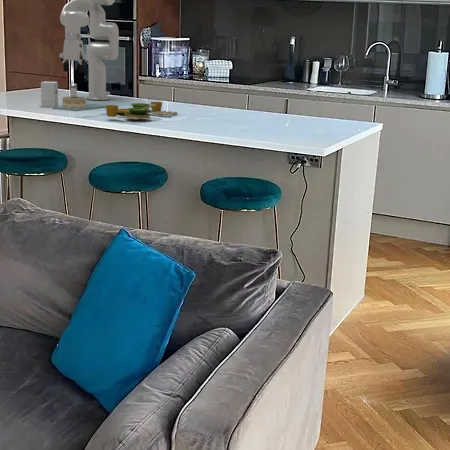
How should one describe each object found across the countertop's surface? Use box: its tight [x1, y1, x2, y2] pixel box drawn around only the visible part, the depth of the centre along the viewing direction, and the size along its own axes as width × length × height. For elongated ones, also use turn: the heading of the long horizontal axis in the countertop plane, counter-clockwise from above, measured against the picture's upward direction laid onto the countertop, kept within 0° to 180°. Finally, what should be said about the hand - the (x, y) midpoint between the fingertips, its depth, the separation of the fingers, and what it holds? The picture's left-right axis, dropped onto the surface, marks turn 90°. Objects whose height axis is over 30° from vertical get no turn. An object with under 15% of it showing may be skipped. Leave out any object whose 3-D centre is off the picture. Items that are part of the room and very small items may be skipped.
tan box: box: [62, 96, 87, 109], centre depth 375 cm, size 11×11×5 cm
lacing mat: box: [51, 102, 107, 112], centre depth 382 cm, size 30×15×1 cm, turn 153°
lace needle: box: [69, 83, 78, 98], centre depth 374 cm, size 3×3×12 cm
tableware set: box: [105, 101, 178, 120], centre depth 365 cm, size 41×28×6 cm
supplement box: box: [40, 81, 59, 108], centre depth 380 cm, size 7×7×13 cm
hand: (73, 72), depth 372 cm, fingers open, 9 cm apart
